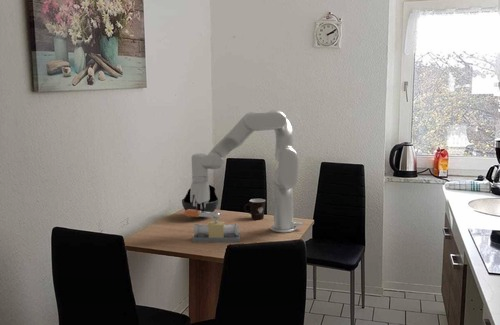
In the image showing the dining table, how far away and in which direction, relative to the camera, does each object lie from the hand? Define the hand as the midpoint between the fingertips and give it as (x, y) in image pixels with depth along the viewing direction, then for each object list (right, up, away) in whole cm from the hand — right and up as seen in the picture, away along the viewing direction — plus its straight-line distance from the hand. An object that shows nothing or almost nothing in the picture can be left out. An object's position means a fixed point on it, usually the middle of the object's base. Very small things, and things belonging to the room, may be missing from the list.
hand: (201, 216), depth 261 cm
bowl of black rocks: (-3, -4, +34) cm, 35 cm away
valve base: (+8, -10, -7) cm, 14 cm away
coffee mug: (+26, -4, +30) cm, 40 cm away
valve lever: (+1, 0, -5) cm, 5 cm away
